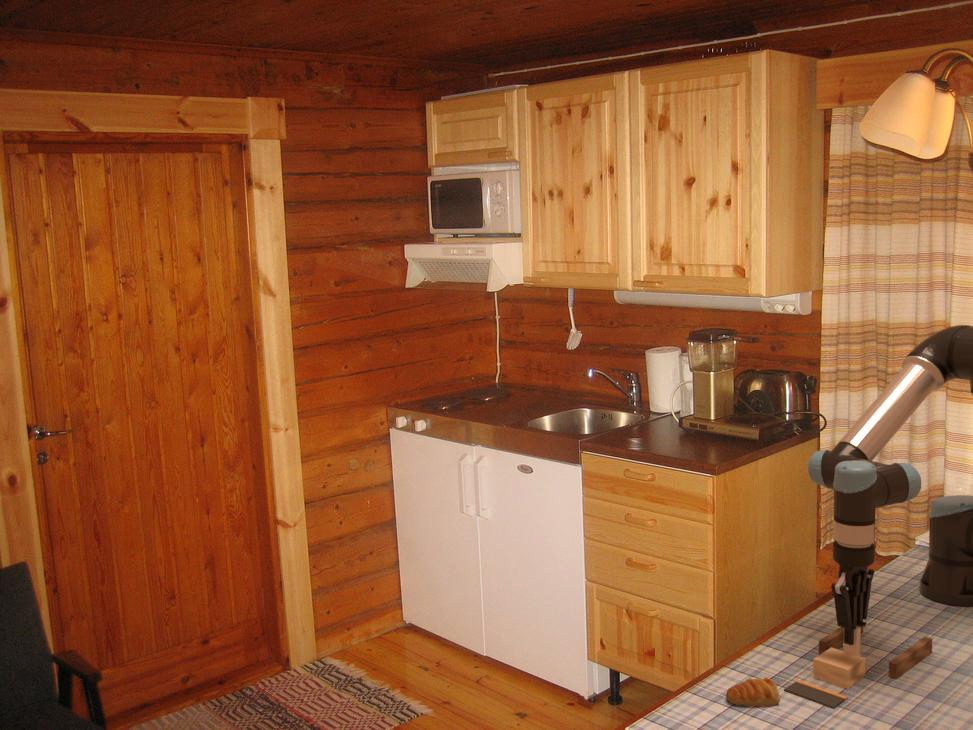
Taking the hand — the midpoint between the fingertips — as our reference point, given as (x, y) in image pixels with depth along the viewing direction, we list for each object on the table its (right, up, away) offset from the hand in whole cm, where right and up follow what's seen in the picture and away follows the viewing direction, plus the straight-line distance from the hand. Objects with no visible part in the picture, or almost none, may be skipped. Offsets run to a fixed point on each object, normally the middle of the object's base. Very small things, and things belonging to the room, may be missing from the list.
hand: (851, 657), depth 190 cm
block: (-3, -3, -2) cm, 5 cm away
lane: (+7, -1, +7) cm, 10 cm away
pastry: (-22, -5, -10) cm, 24 cm away
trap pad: (-10, -4, -9) cm, 14 cm away
